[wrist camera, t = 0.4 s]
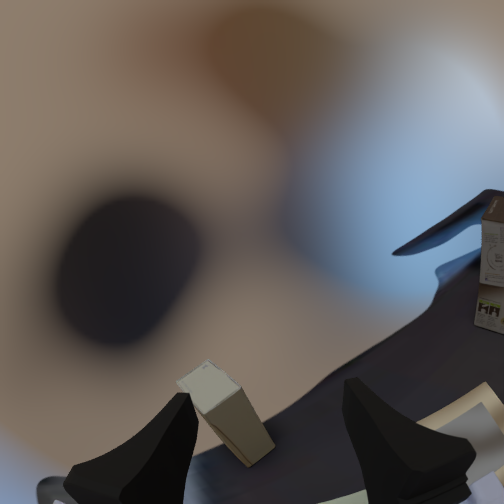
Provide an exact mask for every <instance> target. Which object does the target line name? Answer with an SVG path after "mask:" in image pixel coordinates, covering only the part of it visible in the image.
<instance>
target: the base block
mask: <svg viewBox="0 0 504 504" xmlns="http://www.w3.org/2000/svg"><path fill="white" fill-rule="evenodd" d="M416 423H418V424H420V425H422V426H425V427H427V428H429V429H432V430H435V431H437V432H441V433H444V434H447V435H451V436H456V437H461V438H467V439H468V441H469V442H470V443H471V445H472V446H473V448H474V449H475V451H476V453H477V455H476V459H475V460H474V462H473V464H472V465H471V467H470V468H469V469H468V471H467V472H466V475H467V477H468V481H467V482H466V483H467V485H468V486H469V485H471V484H472V483H473V482H475V481H476V480H478V479H480V478H481V477H483V476H485V475H486V474H488V473H489V472H491V471H494V472H495V474H496V476H497V477H498V479H499V480H500V482H501V484H502V485H503V486H504V405H503V404H502V402H501V401H500V400H499V398H498V397H497V396H496V394H495V393H494V392H493V390H492V389H491V388H490V387H489V385H488V384H487V383H486V381H485V382H484V383H482V384H481V385H479V386H478V387H476V388H475V389H473V390H472V391H470V392H469V393H467V394H466V395H464V396H463V397H461V398H459V399H458V400H456V401H455V402H453V403H451V404H449V405H448V406H446V407H444V408H443V409H441V410H439V411H437V412H435V413H434V414H432V415H430V416H428V417H426V418H424V419H422V420H420V421H418V422H416Z"/></svg>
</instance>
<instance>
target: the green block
mask: <svg viewBox="0 0 504 504" xmlns="http://www.w3.org/2000/svg"><path fill="white" fill-rule="evenodd" d="M319 504H368V498H367V492H366V490H363V491H360V492H357V493H354V494H351V495H348V496H344V497H341V498H338V499H334V500H331V501H327V502H323V503H319Z"/></svg>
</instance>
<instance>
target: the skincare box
mask: <svg viewBox="0 0 504 504" xmlns="http://www.w3.org/2000/svg"><path fill="white" fill-rule="evenodd" d="M176 382H177V384H178V386H179V387H180V388H181V390H182V391H183V392H184V393H190V396H191V399H192V402H193V405H194V407H195V408H196V409H197V410H198V412H199V413H200V414H201V416H202V417H203V418H204V419H205V420H206V422H207V423H208V424H209V425H210V427H211V428H212V429H213V430H214V432H215V433H216V434H217V435H218V437H219V438H220V439H221V440H222V441H223V442H224V444H225V445H226V446H227V447H228V448H229V449H230V450H231V451H232V452H233V453H234V454H235V455H236V456H237V457H238V458H239V459H240V460H241V461H242V462H243V463H244V464H245V465H246V466H247V467H250V466H252V465H253V464H255V463H256V462H257V461H258V460H260V459H261V458H262V457H264V456H265V455H266V454H267V453H269V452H270V451H271V450H272V449H273V448H275V444H274V443H273V441H272V439H271V438H270V436H269V434H268V433H267V431H266V429H265V427H264V426H263V424H262V422H261V421H260V419H259V417H258V415H257V414H256V412H255V410H254V408H253V407H252V405H251V403H250V401H249V400H248V398H247V396H246V394H245V392H244V390H243V389H242V387H241V386H240V385H239V384H238V383H237V382H236V381H235V380H234V379H232V378H231V377H230V376H229V375H227V374H226V373H225V372H224V371H223V370H221V369H220V368H219V367H218V366H217V365H215V364H214V363H213V362H212V361H210V360H209V359H207V360H206V361H205V362H203V363H202V364H200V365H199V366H198V367H196V368H195V369H193V370H192V371H190V372H189V373H187V374H186V375H185V376H183V377H181V378H180V379H179V380H177V381H176Z"/></svg>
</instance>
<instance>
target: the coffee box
mask: <svg viewBox="0 0 504 504" xmlns="http://www.w3.org/2000/svg"><path fill="white" fill-rule="evenodd" d="M481 221H482V247H481V269H480V282H479V292H478V300H477V307H476V315H475V321H474V325H476V326H479V327H482V328H485V329H489V330H492V331H495V332H498V333H501V334H504V197H499V196H494V198H493V200H492V201H491V203H490V205H489V206H488V208H487V210H486V211H485V213H484V214H483V216H482V218H481Z"/></svg>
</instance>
